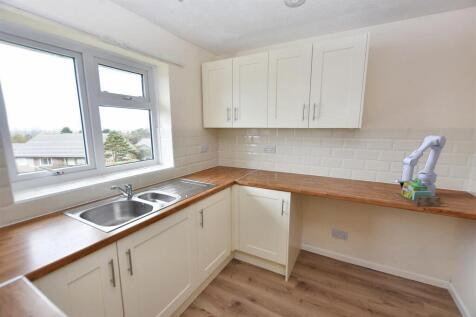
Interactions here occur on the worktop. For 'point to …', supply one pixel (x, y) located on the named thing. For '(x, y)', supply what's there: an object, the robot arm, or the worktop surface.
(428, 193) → the follower
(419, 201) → the lane
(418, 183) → the chalk box
